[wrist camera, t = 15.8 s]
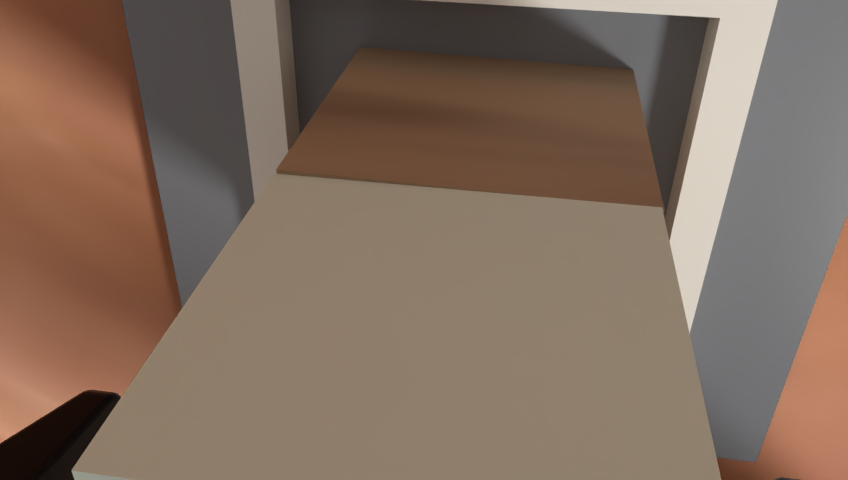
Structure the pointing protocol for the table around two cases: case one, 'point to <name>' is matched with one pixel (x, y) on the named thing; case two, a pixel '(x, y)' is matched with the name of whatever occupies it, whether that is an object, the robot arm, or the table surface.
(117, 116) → the table surface
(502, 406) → the sage block
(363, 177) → the walnut block
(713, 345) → the square panel
